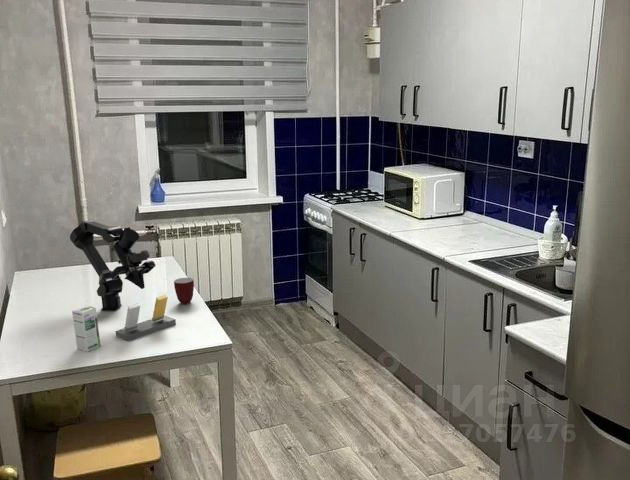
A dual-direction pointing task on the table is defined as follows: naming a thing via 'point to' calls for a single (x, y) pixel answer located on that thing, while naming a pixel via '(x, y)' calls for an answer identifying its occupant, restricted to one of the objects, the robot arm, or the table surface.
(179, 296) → the mug
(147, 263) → the robot arm
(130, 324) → the rocker grey
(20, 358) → the table surface
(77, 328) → the syrup box
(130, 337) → the grey switch base
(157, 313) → the rocker amber
